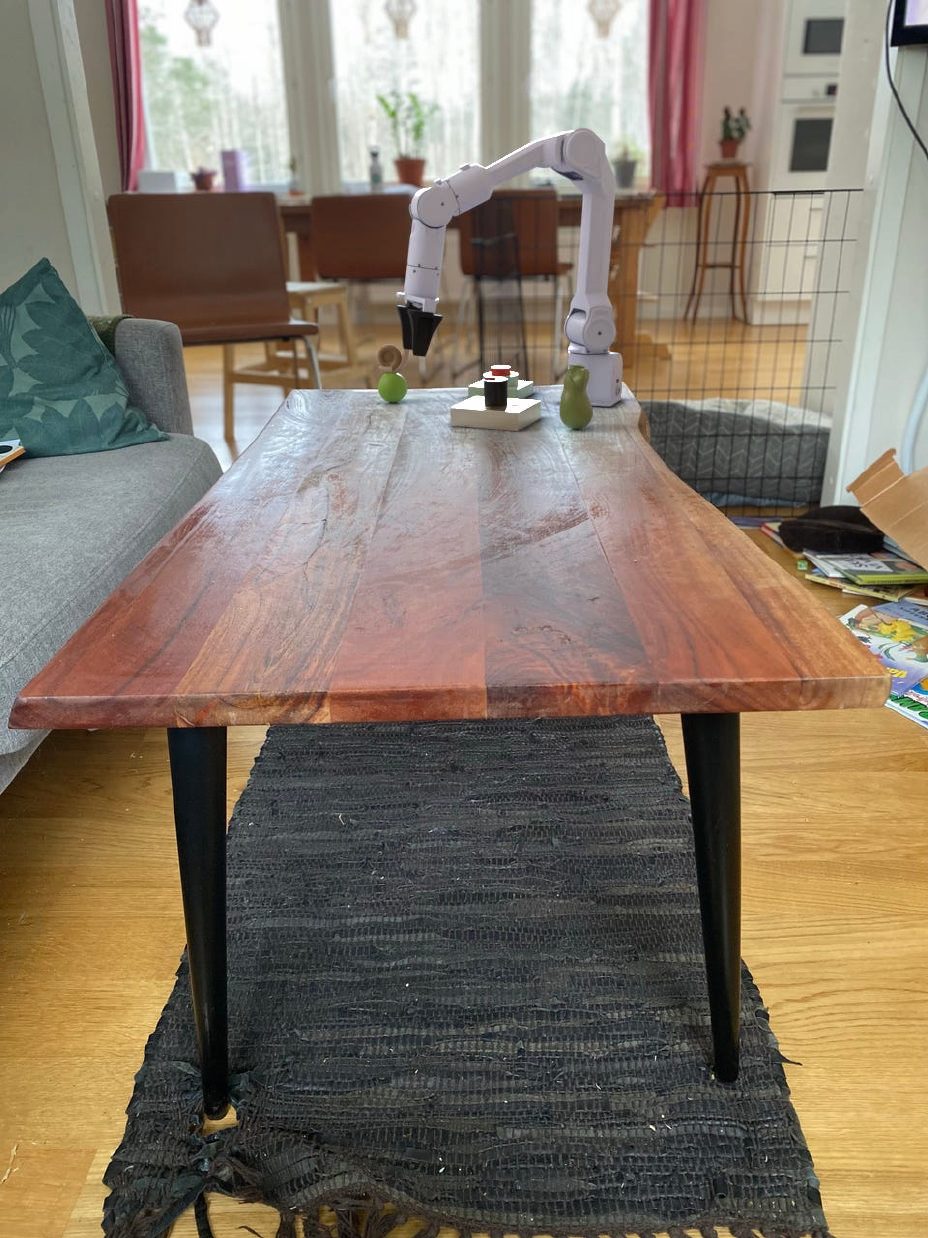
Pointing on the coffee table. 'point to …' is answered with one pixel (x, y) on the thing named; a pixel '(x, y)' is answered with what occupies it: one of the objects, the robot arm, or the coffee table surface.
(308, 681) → the coffee table surface
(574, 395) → the pear
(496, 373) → the button
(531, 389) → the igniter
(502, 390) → the stove knob
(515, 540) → the coffee table surface
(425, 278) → the robot arm
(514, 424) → the panel
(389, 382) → the snail figurine
